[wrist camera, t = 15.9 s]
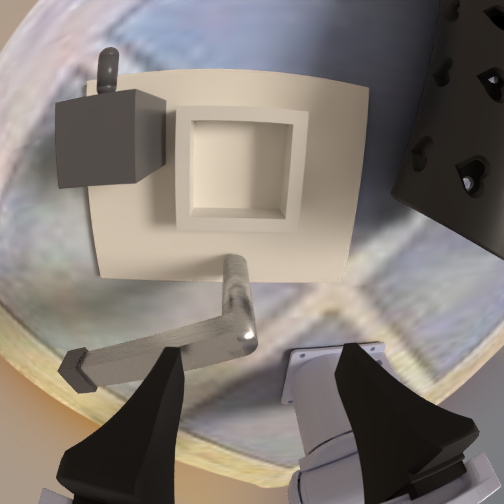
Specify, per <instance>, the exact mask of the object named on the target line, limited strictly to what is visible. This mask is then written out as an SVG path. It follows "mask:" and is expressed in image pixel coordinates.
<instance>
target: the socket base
mask: <svg viewBox="0 0 504 504" xmlns="http://www.w3.org/2000/svg"><path fill="white" fill-rule="evenodd" d="M96 87H97V79H95V80H90V81H87V93H86V96H91V95H96V94H98V93H97V90H96ZM130 89H138V90H141V91H143V92H146V93H149V94H151V95H154V96H157V97H159V98H162V99H164V100H166V165H164V166H162V167H161V168H159V169H158V170H156V171H154V172H153V173H151V174H150V175H148V176H147V177H145V178H144V179H142V180H141V181H139V182H138V183H136V184H117V185H101V186H88V193H89V203H90V212H91V220H92V228H93V235H94V242H95V248H96V254H97V259H98V265H99V270H100V275H101V278H112V279H135V280H163V281H200V282H223V263H224V261H225V259H226V258H227V257H229V256H231V255H240V256H242V257H244V258H245V259H246V261H247V265H248V273H249V280H250V282H343V277H344V273H345V268H346V263H347V259H348V254H349V248H350V243H351V238H352V232H353V227H354V221H355V215H356V209H357V203H358V196H359V189H360V182H361V174H362V166H363V158H364V149H365V139H366V128H367V116H368V101H369V88H368V87H364V86H359V85H355V84H350V83H346V82H341V81H335V80H330V79H324V78H318V77H312V76H305V75H298V74H290V73H281V72H270V71H258V70H240V69H183V70H166V71H153V72H143V73H134V74H126V75H119V76H117V89H116V91H122V90H130Z"/></svg>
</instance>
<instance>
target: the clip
mask: <svg viewBox="0 0 504 504" xmlns="http://www.w3.org/2000/svg"><path fill="white" fill-rule="evenodd" d="M166 346H167V347H180V351H181V358H182V365H183V371H187V370H192V369H196V368H200V367H205V366H209V365H213V364H217V363H221V362H224V361H228V360H232V359H236V358H239V357H243V356H247V355H249V354H251V353H253V352H254V351H255V350H256V348H257V346H258V339H257V332H256V325H255V317H254V310H253V303H252V295H251V288H250V280H249V273H248V265H247V261H246V259H245V258H244V257H242V256H240V255H231V256H229V257H227V258H226V259H225V261H224V263H223V292H222V316H218V317H215V318H212V319H208V320H205V321H202V322H198V323H195V324H191V325H188V326H184V327H181V328H177V329H174V330H170V331H166V332H163V333H159V334H155V335H152V336H148V337H144V338H140V339H136V340H133V341H129V342H125V343H121V344H117V345H113V346H108V347H104V348H100V349H96V350H91V351H88V350H87V349H86V348H85V347H83V348H79V349H75V350H71V351H68V352H67V354H66V356H65V358H64V360H63V361H62V363H61V365H60V367H59V369H58V373H59V374H60V375H61V376H62V377H63V378H64V379H65V380H66V381H67V383H68V384H69V385H70V386H71V387H72V388H73V389H74V390H75V391H76V392H77V393H78V394H80V393H89V392H96V390H97V387H99V386H106V385H113V384H120V383H126V382H132V381H138V380H143V379H145V378H146V376H147V375H148V374H149V372H150V371H151V369H152V368H153V366H154V364H155V363H156V361H157V360H158V358H159V356H160V354H161V353H162V351H163V349H164V348H165V347H166Z"/></svg>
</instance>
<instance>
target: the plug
mask: <svg viewBox="0 0 504 504" xmlns="http://www.w3.org/2000/svg"><path fill="white" fill-rule="evenodd" d="M118 63H119V52H118V50H117V49H116V48H113V47H108V48H105V49H104V50H103V51H102V52H101V53H100V55H99V60H98V72H97V87H96V90H97V93H98V94H96V95H91V96H86V97H81V98H76V99H71V100H67V101H62V102H58V103H55V143H56V163H57V176H58V186H59V189H63V188H74V187H86V186H101V185H117V184H136V183H138V182H139V181H141V180H142V179H144V178H145V177H147V176H148V175H150V174H151V173H153V172H154V171H156V170H158V169H159V168H161V167H162V166H164V165H166V100H164V99H162V98H159V97H157V96H154V95H151V94H149V93H146V92H143V91H141V90H138V89H130V90H122V91H116V89H117V76H118Z"/></svg>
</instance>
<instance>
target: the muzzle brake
mask: <svg viewBox="0 0 504 504" xmlns="http://www.w3.org/2000/svg"><path fill="white" fill-rule="evenodd" d="M491 77H494V80H495V83H491V82H490V81H489V80H488V79H490V78H491ZM463 178H468V179H469V180H470V187H469V189H466V188H465V185H464V181H463ZM391 195H392V197H393V198H395V199H396V200H398V201H400V202H402V203H403V204H405V205H407V206H409V207H411V208H413V209H414V210H416V211H418V212H420V213H422V214H424V215H425V216H427V217H429V218H431V219H433V220H435V221H436V222H438V223H440V224H442V225H444V226H445V227H447V228H449V229H451V230H452V231H454V232H456V233H458V234H459V235H461V236H463V237H465V238H466V239H468V240H470V241H472V242H473V243H475V244H477V245H478V246H480V247H482V248H483V249H485V250H487V251H489V252H490V253H492V254H494V255H495V256H497V257H499V258H501V259H502V260H504V0H440V7H439V15H438V22H437V28H436V34H435V40H434V45H433V50H432V55H431V60H430V65H429V69H428V74H427V78H426V82H425V86H424V90H423V94H422V98H421V102H420V106H419V109H418V113H417V116H416V120H415V123H414V127H413V130H412V133H411V136H410V140H409V143H408V146H407V149H406V152H405V155H404V158H403V161H402V164H401V167H400V169H399V172H398V175H397V178H396V181H395V183H394V186H393V189H392V191H391Z"/></svg>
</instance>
